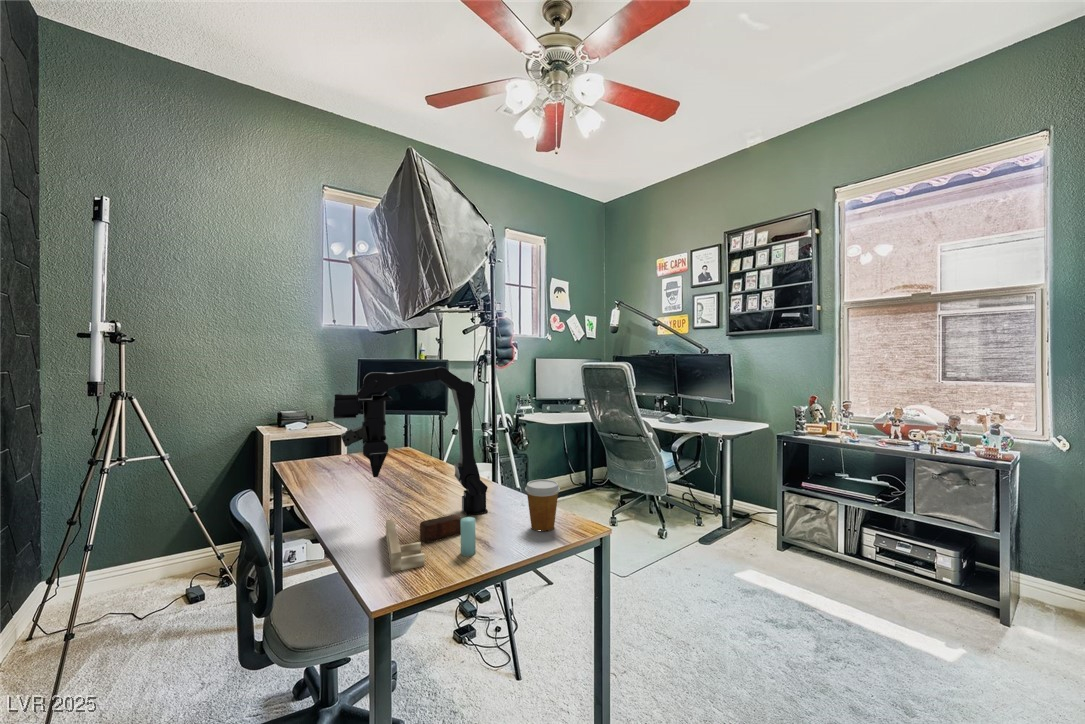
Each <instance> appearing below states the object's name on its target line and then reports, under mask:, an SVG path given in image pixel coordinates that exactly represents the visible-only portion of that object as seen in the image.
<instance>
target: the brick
mask: <svg viewBox="0 0 1085 724" xmlns="http://www.w3.org/2000/svg"><path fill="white" fill-rule="evenodd" d="M461 519H462V517H461V516H459V515H456V514H449V515H445V516H441V517H437V518H431V519H426V520H422V521H420V522H419V539H420V540H421V541H422V542H424V544H428V543H431V542H432V541H433V542H436V540H437V541H440V539H441V540H444V539H448V538H451V537H454V536H457V535H461ZM433 542H432V543H433Z"/></svg>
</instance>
